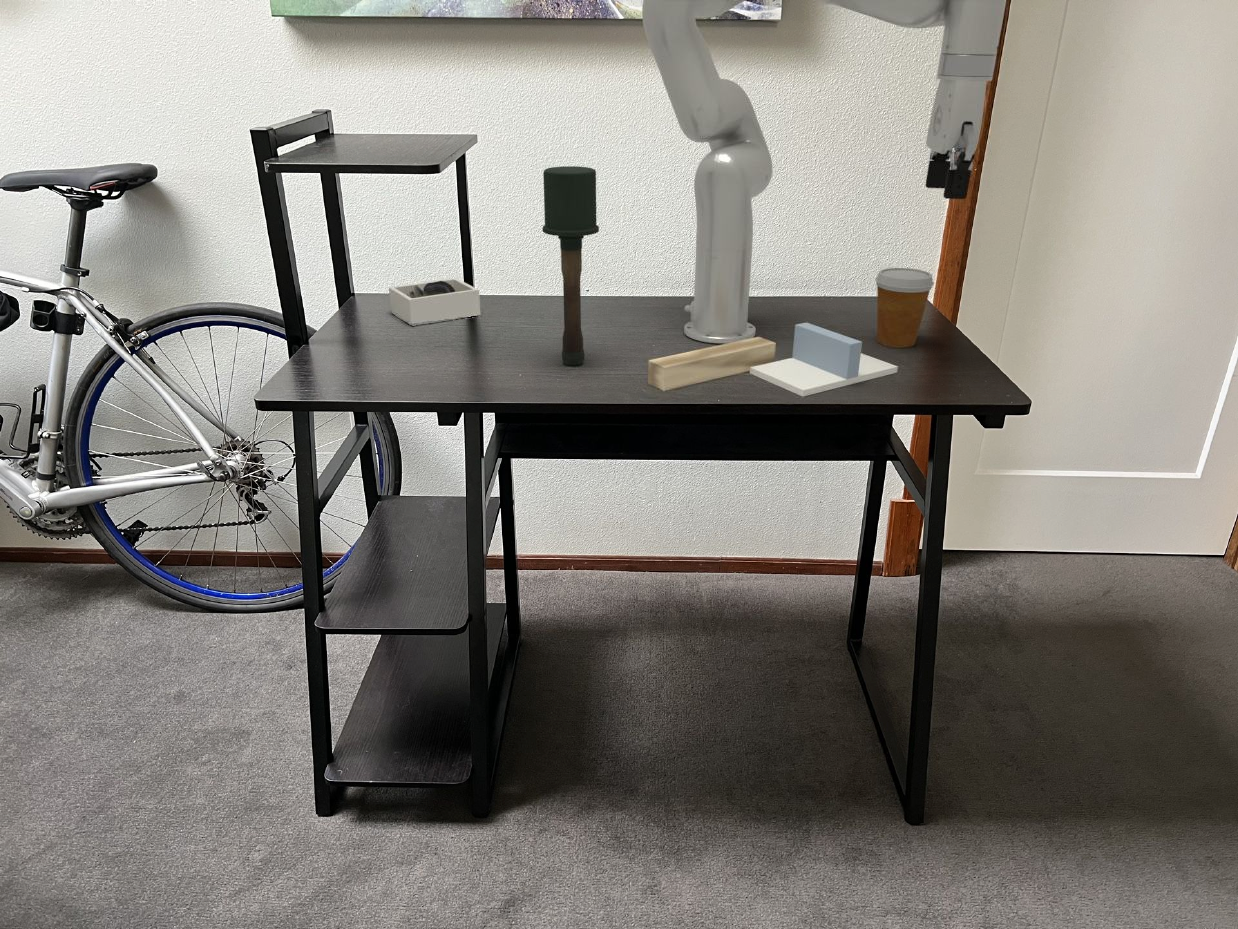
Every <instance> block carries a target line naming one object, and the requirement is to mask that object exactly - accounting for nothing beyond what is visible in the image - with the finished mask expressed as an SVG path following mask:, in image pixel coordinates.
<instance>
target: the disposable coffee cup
mask: <svg viewBox="0 0 1238 929" xmlns="http://www.w3.org/2000/svg"><path fill="white" fill-rule="evenodd" d="M874 281H875V282H876V286H877V295H876V297H877V298H876V299H877V303H876V307H877V310H876V311H877V314H876V318H877V319H876V320H877V322H876V327H877V328H876V329H877V334H876V335H877V339H876V342H878V344H880V345H881V346H886V347H890V348H902V349H903V348H910V347H913V346H915V344H916V340H917V337H918V333H919V329H920V326H921V324H922V320H923V316H924V312H925V308H926V305H927V302H928V299H929V295H930V290H932V288H933V286H934V284H935V282H934V281H933V274H932V273H930V272H929V271H926V270H922V269H917V268H910V267H888V268H887V267H886V268H883V269H880V270H879V272H878V274H877V276H876V277H875V279H874Z"/></svg>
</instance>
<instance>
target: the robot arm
mask: <svg viewBox="0 0 1238 929" xmlns="http://www.w3.org/2000/svg"><path fill="white" fill-rule="evenodd" d="M745 1H747V0H643V1H642V8H641V11H642V12H641V16H642V25H643V29H644V33H645V37H646V40H647V43H648V45H649V48H650V52H651V53H652V55H653V58H654V61H655V63H656V66H657V68H658V70H659V74H660V76H661V79H662V83H663V84H664V88H665V90H666V93H667V95H668V96H667V97H668V99H669V101H670V104H671V106H672V109H673V112H674V115H675V117H676V119H677V120H676V121H677V122H678V125H679V127H680V130H681V131H682V133H683V134H684V136H686V138H688V140H690V141H693V142H695V143H703V144H704V143H708V145H709V149H710V150H711V151H710V152H708V153H707V154H706V155H705V156H704V157H703V158H702V160H701V161H700V162H699V164H698V166H697V168H696V171H695V173H694V174H695V175H694V183H693V184H694V187H693V188H694V190H693V191H694V197H695V198H694V199H695V210H696V212H695V213H696V237H695V238H696V239H695V240H696V241H695V245H696V246H695V265H694V267H695V268H694V270H695V272H694V288H693V289H694V293H693V294H694V295H693V300H692V301H691V302H690V304H687V305H685V306H684V312H686V313H688V314H690V321H688V322H687V323H686V324H685V325H684V326H683V327H684V329H683V333H684V334H685V336H687V337H688V338H690V339H692V340H695V341H698V342H704V343H709V344H727V343H732V342H737V341H741V340H746V339H751V338H755V336H756V327H755V326H754V325H753V324H752V323H750V322H748V318H749V317H748V316H749V301H750V300H749V299H750V289H751V288H750V285H751V272H752V255H753V253H752V252H753V238H754V220H753V219H754V218H753V207H752V204H753V203H752V199H753V198H755V197H757V196H759V195H760V194H761V193H763V192H764V191H765V190H766V189H767V188H768V186H769V184H770V182H771V180H772V176H773V161H772V157H771V153H770V150H769V147H768V145H767V142H766V139H765V136H764V133H763V131H762V129H761V126H760V125H761V124H760V122H759V120H758V117H757V114H756V112H755V109H754V107H753V104H752V101H751V99H750V98H749V96H748V94H747V92H746V91H745V90H744V88H742V86H741V85H739V84H738V83H737V82H735V81H733V80H730V79H726V78H721V77H720V75H719V73H718V70H717V68H716V65H715V63H714V61H713V57H712V54H711V51H710V49H709V46H708V44H707V42H706V40H705V38H704V37H703V35H702V33H701V31H700V29H699V27H698V25H697V20H696V18H703V19H708V18H714V17H717V16H720V15H722V14H724V13H726V12H728V11H730V10H732V9H734V8H735V7H738V6H739V5H740V4H742V3H744V2H745ZM815 1H817V2H818V3H819V2H820V3H822V4H825V5H833V6H837V7H841V8H844V9H847V10H849V11H853V12H856V13H859V14H862V15H864V16H867V17H871V18H874V19H877V20H880V21H883V22H885V23H889V24H892V25H895V26H897V27H900V28H901V27H902V28H906V29H911V28H912V29H928V28H934V27H936V28H937V27H943V26H944V30H943V35H942V40H941V48H940V55H939V61H938V68H937V73H936V79H937V80H939V82H938V85H937V88H936V93H935V96H934V101H933V105H932V110H931V115H930V120H929V126H928V130H927V131H928V132H927V136H926V142H925V143H926V147H927V148H928V149H929V150H930V154H929V160H928V166H927V168H928V169H927V172H926V179H925V187H926V188H927V189H944V190H943V198H944V199H946V200H947V199H949V200H965V199H967V197H968V191H969V186H970V182H971V181H970V180H971V174H972V170H973V166H974V163H973V161H974V159H975V156H976V154H975V152H976V150H977V148H978V145H979V144H978V143H979V140H980V135H981V134H980V133H981V129H982V121H983V117H984V108H985V102H986V101H985V100H986V99H985V98H986V90H987V82H992V80H993V76H994V71H995V66H996V60H997V53H998V50H999V49H998V48H999V43H1000V37H1001V31H1002V26H1003V23H1004V22H1003V20H1004V16H1005V10H1006V4H1007V0H815Z"/></svg>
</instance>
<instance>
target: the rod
mask: <svg viewBox="0 0 1238 929" xmlns="http://www.w3.org/2000/svg"><path fill="white" fill-rule="evenodd" d="M776 344H777V343H776V342H774V341H771V340H769V339H767V338H763V337H761V336H756V337H755V336H754V337H753V338H751V339H746V340H741V341H737V342H732V343H722V344H719V345H715V346H709V347H705V348H700V349H695V350H691V351H687V352H682V353H681V352H680V353H677V354H673V355H672V354H671V355H667V356H664V357H658V358H653V359H648V372H647V373H648V374H647V375H648V377H647V383H648V385H651V386H653V387H655V388H657V389H658V388H659V390H660V391H662V390H663V391H662V392H666V390H667V391H670V390H675V389H678V388H683V387H687V386H691V385H697V384H698V383H699V384H700V383H704V382H708V381H712V380H716V379H722V378H725V377H729V376H734V375H738V374H743V373H745V372H746V373H747V372H750V367H754V366H758V365H763V364H767V363H772V362H775V356H776V346H777V345H776Z"/></svg>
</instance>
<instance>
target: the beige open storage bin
mask: <svg viewBox="0 0 1238 929" xmlns="http://www.w3.org/2000/svg"><path fill="white" fill-rule="evenodd" d="M437 281H443V282H444V281H445V282H447V283H449V284H450V285H452V287H453V288H454V289H455V292H453V293H446V294H439V295H432V296H425V297H419V296H421V295H420V294H419V293H418V292H417V290H416V288H415V285H417V286H418V287H419V288H420V289H421V290H423V289H424V287H425V286H426V284H428V283H433V282H437ZM388 291H389V292H388V295H389V303H390V310H391V309H392V310H394V311H395V312H396V313H398V314H399V315H401V316H402V317H403V318H404V319H406V320H407V321H409V322H410V323H412V324H413V323H422V322H427V321H438V320H444V319H455V318H458V317H471V316H477V315H481V316H482V314H481V313H482V312H481V299H480V289H478V288H476V287H474V286H472V285H470V284H469V283H467V282H465V281H462V280H461V279H459V278H456V277H455V278H448V279H441V280H440V279H439V280H432V281H427V282H426V281H425V282H417V283H411V284H404V285H395V286H389V287H388ZM412 291H413V292H414V294H415V295H416V297H418V298H416V297H415V298H410V297H409V296H410V293H409V292H412ZM423 291H424V290H423ZM407 294H408V295H409V296H407Z"/></svg>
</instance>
